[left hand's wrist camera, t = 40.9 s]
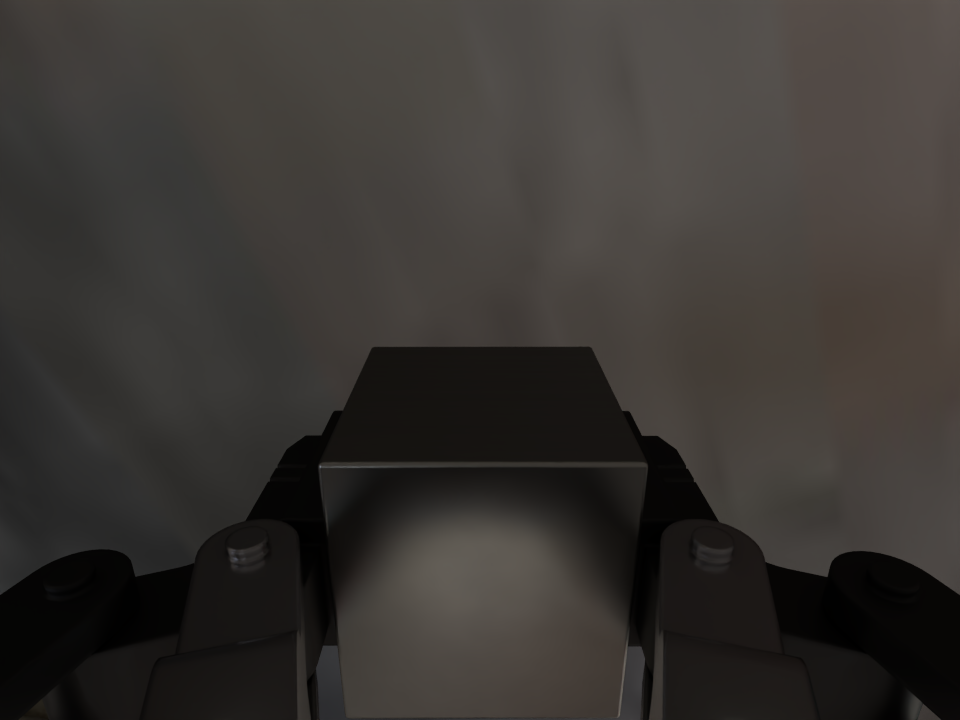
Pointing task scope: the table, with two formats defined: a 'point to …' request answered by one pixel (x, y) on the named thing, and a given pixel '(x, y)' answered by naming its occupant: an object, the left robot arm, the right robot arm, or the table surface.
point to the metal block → (482, 534)
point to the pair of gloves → (36, 713)
